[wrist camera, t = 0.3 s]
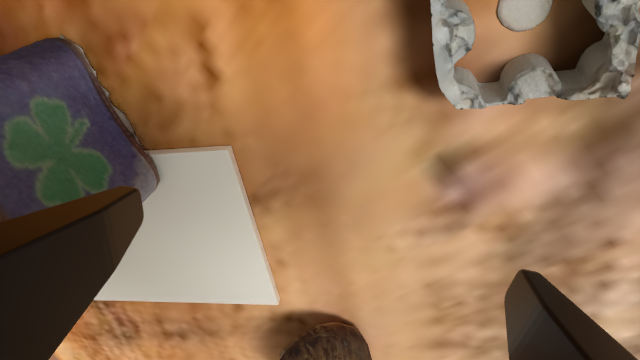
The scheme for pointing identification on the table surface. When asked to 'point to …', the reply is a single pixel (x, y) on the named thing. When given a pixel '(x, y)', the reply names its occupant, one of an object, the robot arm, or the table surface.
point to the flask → (62, 132)
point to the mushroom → (328, 344)
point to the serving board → (195, 237)
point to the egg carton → (536, 55)
